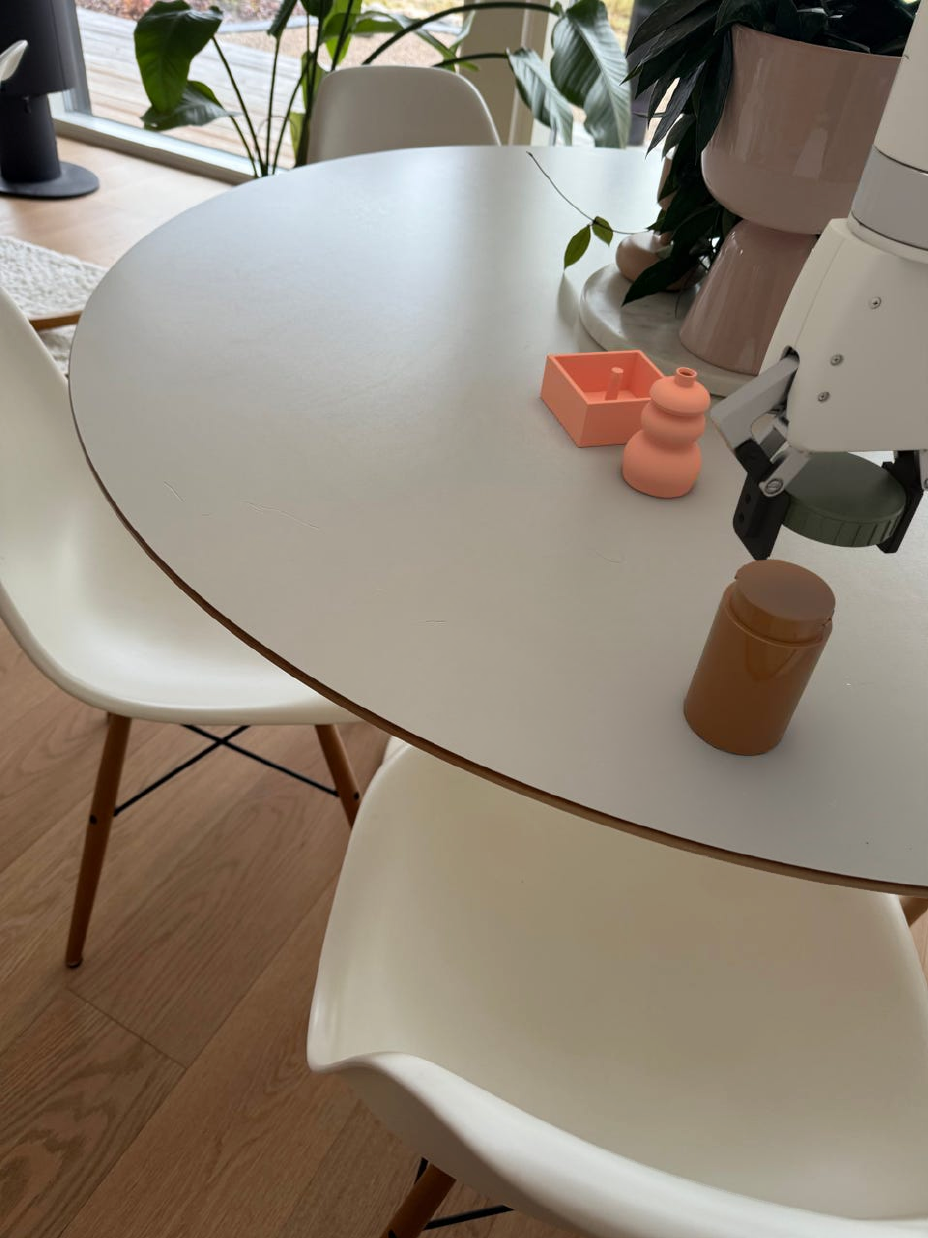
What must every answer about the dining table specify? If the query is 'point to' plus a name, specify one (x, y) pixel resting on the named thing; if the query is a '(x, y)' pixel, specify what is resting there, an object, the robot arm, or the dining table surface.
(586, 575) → the dining table surface
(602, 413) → the pottery
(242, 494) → the dining table surface
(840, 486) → the lid
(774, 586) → the jar
